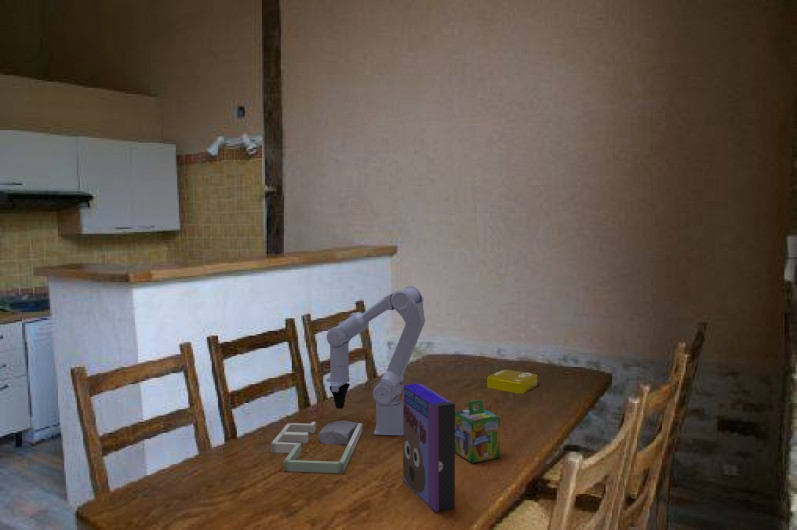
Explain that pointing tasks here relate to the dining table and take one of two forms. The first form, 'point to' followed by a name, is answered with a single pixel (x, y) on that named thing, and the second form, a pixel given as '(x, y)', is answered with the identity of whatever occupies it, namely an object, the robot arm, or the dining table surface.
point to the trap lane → (299, 434)
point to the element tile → (512, 381)
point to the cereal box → (429, 446)
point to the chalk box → (477, 433)
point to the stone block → (337, 432)
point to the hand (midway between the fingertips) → (339, 407)
